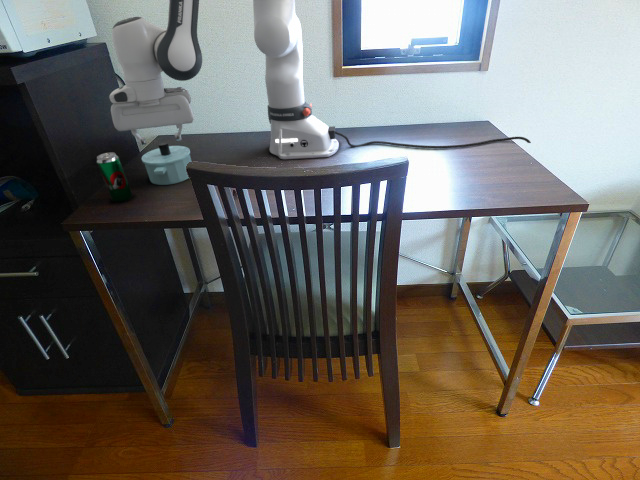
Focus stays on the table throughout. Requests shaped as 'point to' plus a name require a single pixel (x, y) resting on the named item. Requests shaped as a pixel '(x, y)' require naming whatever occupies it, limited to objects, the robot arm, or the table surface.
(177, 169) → the pan
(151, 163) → the lid
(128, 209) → the table surface
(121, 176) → the soda can
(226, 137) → the table surface
